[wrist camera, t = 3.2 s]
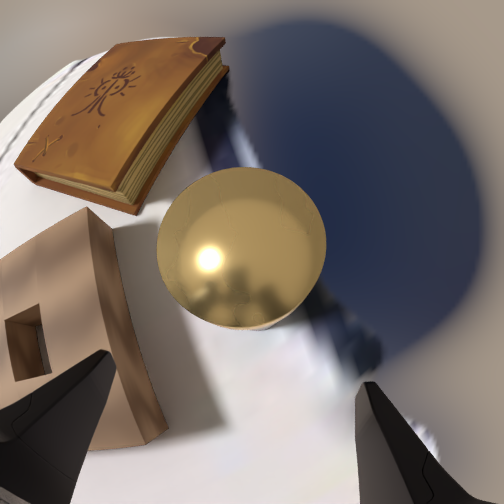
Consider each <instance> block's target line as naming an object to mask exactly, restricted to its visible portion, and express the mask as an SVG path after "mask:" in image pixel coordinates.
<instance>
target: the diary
mask: <svg viewBox="0 0 504 504" xmlns="http://www.w3.org/2000/svg"><path fill="white" fill-rule="evenodd" d="M225 43H226V42H225V38H224V37H180V38H163V39H152V40H142V41H134V42H128V43H120V44H116V45H115V46H114V47H113V48H111V49H110V50H109V51H108V52H107V53H106V54H105V55H103V56H102V57H101V58H100V59H99V60H98V61H97V62H96V63H95V64H94V65H93V66H92V67H91V68H90V69H89V70H88V71H87V72H86V73H85V74H84V75H83V76H82V77H81V78H80V79H79V80H78V81H77V82H76V83H75V84H74V85H73V86H72V87H71V88H70V89H69V91H68V92H67V93H66V94H65V95H64V96H63V97H62V99H61V100H60V101H59V102H58V103H57V104H56V106H55V107H54V108H53V109H52V110H51V112H50V113H49V114H48V115H47V117H46V118H45V119H44V121H43V122H42V123H41V125H40V126H39V127H38V129H37V130H36V131H35V133H34V134H33V135H32V137H31V138H30V140H29V141H28V143H27V144H26V146H25V147H24V149H23V150H22V152H21V153H20V155H19V156H18V158H17V159H16V161H15V163H14V166H15V167H16V168H17V169H18V170H19V171H20V172H21V173H22V174H23V175H24V176H25V177H27V178H28V179H29V180H30V181H31V182H32V183H34V184H35V185H38V186H42V187H45V188H48V189H51V190H54V191H58V192H61V193H64V194H67V195H70V196H74V197H77V198H80V199H83V200H87V201H90V202H93V203H96V204H99V205H103V206H106V207H109V208H112V209H115V210H119V211H122V212H125V213H128V214H132V215H135V216H136V215H137V214H138V212H139V210H140V208H141V206H142V204H143V202H144V200H145V198H146V196H147V194H148V192H149V191H150V189H151V187H152V185H153V183H154V182H155V180H156V178H157V176H158V174H159V173H160V171H161V169H162V167H163V166H164V164H165V162H166V161H167V159H168V157H169V156H170V154H171V152H172V151H173V149H174V147H175V146H176V144H177V143H178V141H179V139H180V138H181V136H182V135H183V133H184V132H185V130H186V128H187V127H188V125H189V124H190V122H191V121H192V119H193V118H194V116H195V115H196V113H197V112H198V111H199V109H200V108H201V106H202V105H203V103H204V102H205V100H206V99H207V98H208V96H209V95H210V94H211V92H212V91H213V89H214V88H215V87H216V85H217V84H218V83H219V81H220V80H221V79H222V77H223V76H224V75H225V73H226V72H227V71H228V73H229V71H230V69H229V66H224V65H222V61H221V55H220V49H221V48H222V47H223V45H224V44H225Z"/></svg>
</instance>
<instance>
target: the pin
mask: <svg viewBox="0 0 504 504" xmlns="http://www.w3.org/2000/svg"><path fill="white" fill-rule="evenodd" d="M325 253H326V235H325V228H324V225H323V222H322V218H321V216H320V214H319V212H318V209H317V208H316V206H315V205H314V203H313V201H312V200H311V199H310V198H309V196H308V195H307V194H306V193H305V192H304V191H303V190H302V189H301V188H300V187H299V186H297V185H296V184H295V183H293V182H292V181H291V180H289V179H287V178H285V177H283V176H281V175H279V174H277V173H274V172H271V171H268V170H264V169H259V168H251V167H239V168H230V169H224V170H220V171H217V172H214V173H211V174H209V175H207V176H204V177H202V178H201V179H199V180H197V181H195V182H194V183H193V184H191V185H190V186H189V187H187V188H186V189H185V190H184V191H183V192H182V193H181V194H180V195H179V196H178V197H177V198H176V199H175V200H174V202H173V203H172V204H171V206H170V207H169V209H168V210H167V212H166V214H165V216H164V218H163V220H162V223H161V226H160V229H159V233H158V238H157V261H158V266H159V271H160V273H161V276H162V279H163V281H164V283H165V285H166V287H167V289H168V290H169V292H170V293H171V295H172V296H173V297H174V298H175V300H176V301H177V302H178V303H179V304H180V305H181V306H182V307H184V308H185V309H186V310H188V311H189V312H190V313H192V314H193V315H195V316H197V317H199V318H200V319H203V320H205V321H207V322H210V323H212V324H215V325H217V326H220V327H224V328H228V329H234V330H252V331H261V330H265V329H268V328H270V327H272V326H273V325H274V324H276V323H277V322H278V321H280V320H282V319H283V318H285V317H287V316H288V315H290V314H291V313H292V312H293V311H294V310H295V309H296V308H297V307H298V306H299V305H300V304H301V303H302V302H303V301H304V299H305V298H306V297H307V295H308V294H309V292H310V291H311V290H312V288H313V286H314V285H315V283H316V282H317V280H318V277H319V275H320V273H321V271H322V267H323V264H324V260H325Z"/></svg>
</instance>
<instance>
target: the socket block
mask: <svg viewBox="0 0 504 504" xmlns="http://www.w3.org/2000/svg"><path fill="white" fill-rule="evenodd" d="M39 325H42V326H43V332H44V338H45V343H46V348H47V353H48V357H49V362H50V366H51V370H52V373H51V374H47V375H45V373H44V369H43V364H42V360H41V355H40V350H39V345H38V340H37V334H36V328H35V327H37V326H39ZM100 349H103V350H107V351H110V352H111V354H112V356H113V359H114V361H115V363H116V367H117V369H116V373H115V377H114V380H113V383H112V386H111V390H110V393H109V396H108V400H107V403H106V405H105V408H104V410H103V413H102V415H101V418H100V420H99V423H98V425H97V428H96V430H95V433H94V435H93V438H92V440H91V443H90V446H89V448H88V451H89V450H104V449H115V448H125V447H133V446H140V445H146V444H147V443H149V442H150V441H152V440H153V439H154V438H156V437H157V436H159V435H160V434H162V433H163V432H164V431H166V430H167V429H168V425H167V423H166V421H165V418H164V416H163V413H162V411H161V409H160V406H159V404H158V401H157V398H156V396H155V393H154V390H153V388H152V385H151V382H150V379H149V377H148V374H147V371H146V368H145V365H144V362H143V359H142V356H141V352H140V349H139V346H138V343H137V339H136V336H135V332H134V329H133V325H132V322H131V318H130V314H129V310H128V306H127V302H126V298H125V294H124V290H123V285H122V281H121V276H120V271H119V266H118V261H117V256H116V250H115V244H114V238H113V232H112V228H111V227H109V226H108V225H107V224H106V223H105V222H104V221H103V220H101V219H100V218H99V217H98V216H97V215H96V214H95V213H93V212H92V211H91V210H90V209H89V208H88V207H85V208H83V209H81V210H79V211H77V212H76V213H74V214H72V215H70V216H68V217H67V218H65V219H63V220H61V221H60V222H58V223H56V224H54V225H53V226H51V227H49V228H48V229H46V230H44V231H43V232H41V233H40V234H38V235H36V236H35V237H33V238H32V239H30V240H28V241H27V242H25V243H24V244H22V245H21V246H19V247H18V248H16V249H15V250H13V251H12V252H10V253H9V254H7V255H6V256H5V257H3V258H2V259H0V409H2V408H4V407H6V406H8V405H10V404H12V403H14V402H16V401H18V400H20V399H21V398H23V397H25V396H26V395H28V394H29V393H31V392H33V391H34V390H36V389H38V388H39V387H41V386H42V385H44V384H45V383H47V382H49V381H50V380H52V379H53V378H55V377H57V376H58V375H60V374H61V373H63V372H64V371H66V370H68V369H69V368H71V367H72V366H74V365H76V364H77V363H79V362H80V361H82V360H83V359H85V358H87V357H88V356H90V355H91V354H93V353H95V352H96V351H98V350H100Z"/></svg>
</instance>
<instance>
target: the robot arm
mask: <svg viewBox="0 0 504 504" xmlns="http://www.w3.org/2000/svg"><path fill="white" fill-rule="evenodd" d="M116 369H117V367H116V363H115V361H114V359H113V356H112V354H111V352H110V351H107V350H103V349H100V350H98V351H96V352H95V353H93V354H91V355H90V356H88V357H87V358H85V359H83V360H82V361H80V362H79V363H77V364H76V365H74V366H72V367H71V368H69V369H68V370H66V371H64V372H63V373H61V374H60V375H58V376H57V377H55V378H53V379H52V380H50V381H49V382H47V383H45V384H44V385H42V386H41V387H39V388H38V389H36V390H34V391H33V392H31V393H29V394H28V395H26V396H25V397H23V398H21V399H20V400H18V401H16V402H14V403H12V404H10V405H8V406H6V407H4V408H2V409H0V504H70V502H71V498H72V495H73V492H74V489H75V486H76V482H77V479H78V476H79V473H80V471H81V468H82V465H83V462H84V459H85V456H86V454H87V451H88V448H89V446H90V443H91V440H92V438H93V435H94V433H95V430H96V428H97V425H98V423H99V420H100V418H101V415H102V413H103V410H104V408H105V405H106V403H107V400H108V396H109V393H110V390H111V386H112V383H113V380H114V377H115V373H116ZM355 442H356V452H357V463H358V476H359V491H360V504H496V503H491V502H486V501H482V500H479V499H476V498H474V497H472V496H471V495H469V494H468V493H467V492H466V491H465V490H464V489H463V488H462V487H461V486H460V485H459V484H458V483H457V482H456V481H455V480H454V479H453V478H452V477H451V476H450V475H449V474H448V473H447V472H446V471H445V470H444V468H443V467H442V466H441V465H440V464H439V463H438V461H437V460H436V459H435V458H434V456H433V455H432V454H431V453H430V451H428V449H427V447H426V446H425V445H424V444H423V442H422V441H421V440H420V438H419V437H418V436H417V435H416V433H415V432H414V431H413V429H412V428H411V427H410V426H409V424H408V423H407V422H406V420H405V419H404V418H403V417H402V415H401V414H400V413H399V412H398V410H397V409H396V408H395V407H394V405H393V404H392V403H391V401H390V400H389V399H388V398H387V396H386V395H385V394H384V393H383V392H382V390H381V389H380V388H379V386H378V385H377V384H376V383H375V382H363V383H362V385H361V387H360V389H359V391H358V393H357V395H356V398H355Z"/></svg>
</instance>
